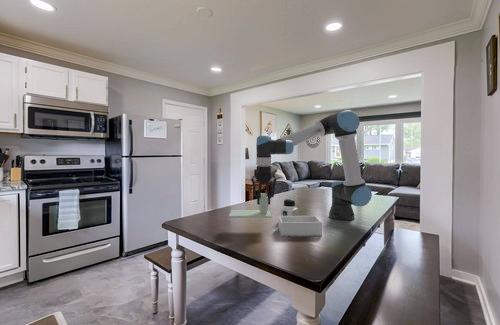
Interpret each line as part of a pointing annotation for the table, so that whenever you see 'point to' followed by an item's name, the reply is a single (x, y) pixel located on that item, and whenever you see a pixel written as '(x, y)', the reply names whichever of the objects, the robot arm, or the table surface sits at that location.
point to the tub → (300, 226)
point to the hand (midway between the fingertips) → (263, 210)
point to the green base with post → (253, 211)
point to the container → (289, 208)
